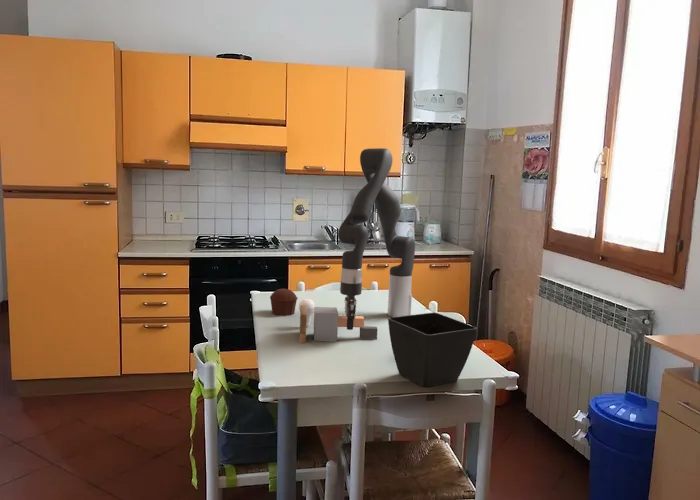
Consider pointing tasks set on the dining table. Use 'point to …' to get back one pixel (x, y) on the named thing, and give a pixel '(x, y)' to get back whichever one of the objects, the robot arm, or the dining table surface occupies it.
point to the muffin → (283, 302)
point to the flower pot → (430, 347)
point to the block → (325, 323)
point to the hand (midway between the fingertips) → (349, 327)
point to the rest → (368, 332)
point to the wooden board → (303, 323)
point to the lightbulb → (308, 309)
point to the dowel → (356, 322)
